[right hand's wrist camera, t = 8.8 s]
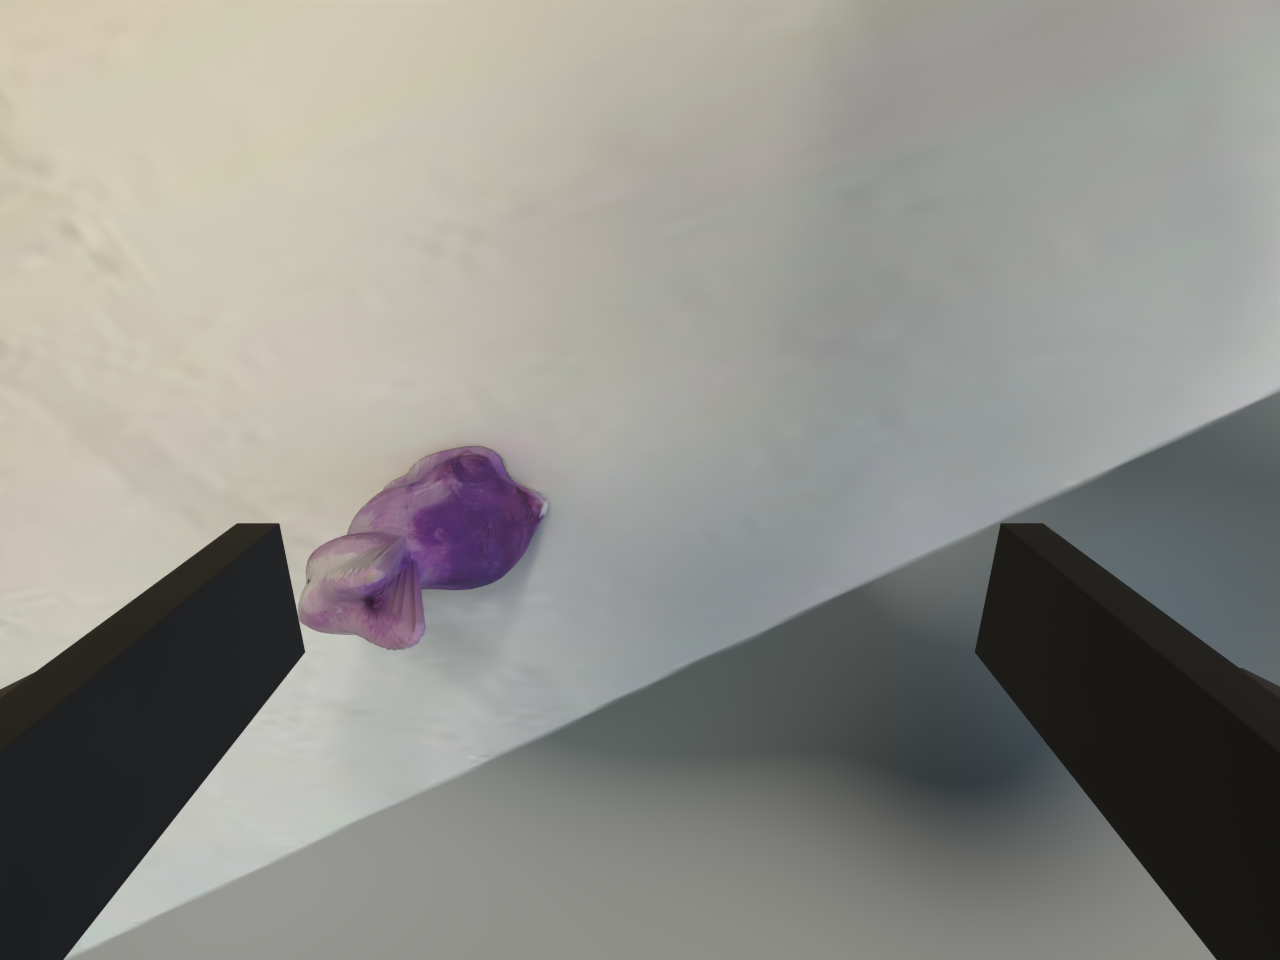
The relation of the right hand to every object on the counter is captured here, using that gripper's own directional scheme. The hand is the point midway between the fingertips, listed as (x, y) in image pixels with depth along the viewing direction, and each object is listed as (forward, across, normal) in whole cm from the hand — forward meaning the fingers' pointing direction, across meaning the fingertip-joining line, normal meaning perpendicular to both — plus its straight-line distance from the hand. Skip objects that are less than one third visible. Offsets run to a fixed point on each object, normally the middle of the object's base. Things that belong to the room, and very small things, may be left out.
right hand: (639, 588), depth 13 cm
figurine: (+30, -12, -11) cm, 34 cm away
